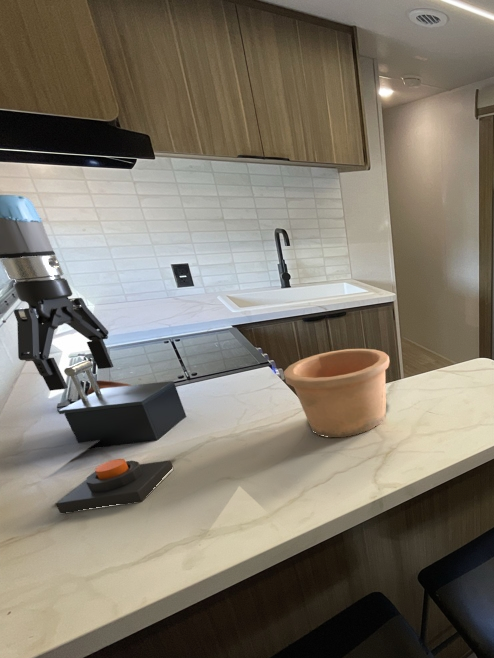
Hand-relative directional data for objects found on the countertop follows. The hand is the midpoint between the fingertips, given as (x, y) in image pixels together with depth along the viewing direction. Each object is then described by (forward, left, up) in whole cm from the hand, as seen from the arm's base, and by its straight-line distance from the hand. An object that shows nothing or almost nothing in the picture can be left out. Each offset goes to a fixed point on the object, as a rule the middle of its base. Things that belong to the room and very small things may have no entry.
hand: (84, 377), depth 88 cm
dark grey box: (+6, 0, -14) cm, 15 cm away
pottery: (+55, -9, -15) cm, 57 cm away
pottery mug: (-12, +21, -15) cm, 28 cm away
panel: (+18, -26, -14) cm, 35 cm away
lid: (+5, 0, -6) cm, 8 cm away
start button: (+18, -26, -11) cm, 33 cm away
